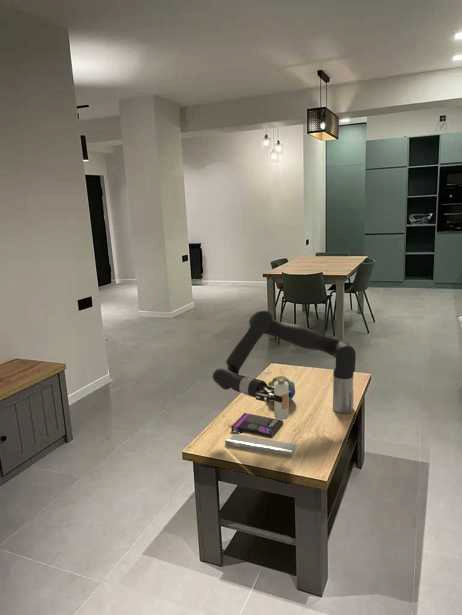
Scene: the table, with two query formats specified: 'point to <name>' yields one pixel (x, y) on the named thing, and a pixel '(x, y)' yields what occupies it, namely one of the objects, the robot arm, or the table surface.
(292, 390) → the decorative rock
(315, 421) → the table surface
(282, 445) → the shelf board
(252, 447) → the rail
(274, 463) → the table surface
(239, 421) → the box
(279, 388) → the cream bottle
